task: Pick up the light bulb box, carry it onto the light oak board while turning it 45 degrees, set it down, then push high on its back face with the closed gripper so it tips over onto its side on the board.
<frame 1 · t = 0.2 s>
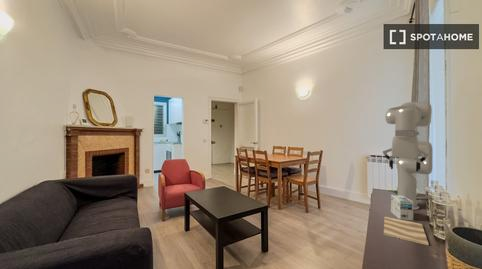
hand: (404, 169, 101), 31 cm above the table, tool pointing down, fingers open, 9 cm apart
oak board: (403, 230, 104), on the table
figurine: (397, 198, 151), on the table
light bulb box: (401, 216, 121), on the table
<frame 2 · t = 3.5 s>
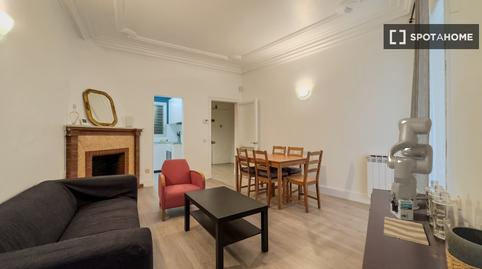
hand: (401, 210, 121), 3 cm above the table, tool pointing down, fingers closed on light bulb box, 8 cm apart
light bulb box: (401, 216, 121), on the table, touching gripper
everything else where it was.
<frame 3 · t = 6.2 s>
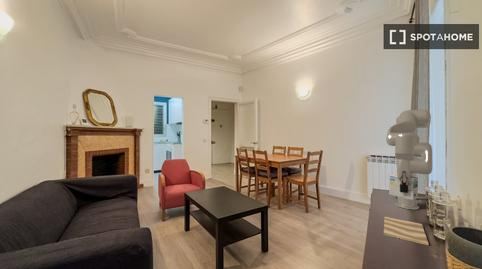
hand: (403, 190, 109), 18 cm above the table, tool pointing down, fingers closed on light bulb box, 8 cm apart
light bulb box: (402, 196, 109), point 15 cm above the table, touching gripper
everything else where it was.
when the fingers open (5 cm above the table, at t = 9.4 s): light bulb box stays where it is, resting on oak board.
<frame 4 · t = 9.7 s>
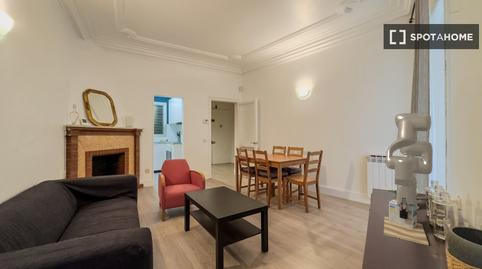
hand: (402, 215, 109), 6 cm above the table, tool pointing down, fingers open, 9 cm apart
light bulb box: (402, 223, 110), point 1 cm above the table, touching oak board
everything else where it was.
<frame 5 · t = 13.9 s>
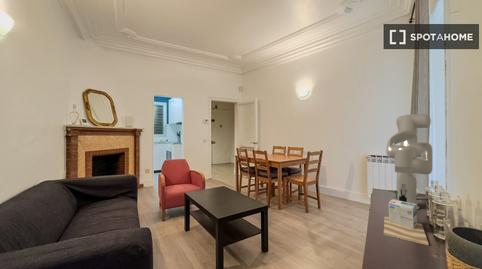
hand: (402, 203, 113), 10 cm above the table, tool pointing down, fingers closed
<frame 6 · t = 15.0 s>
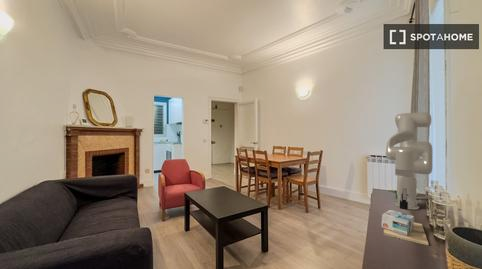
hand: (403, 208, 107), 10 cm above the table, tool pointing down, fingers closed
light bulb box: (401, 218, 108), point 4 cm above the table, touching oak board
everything else where it was.
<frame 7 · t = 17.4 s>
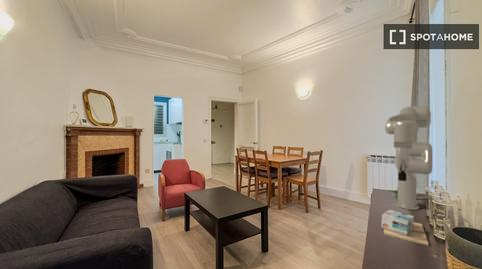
hand: (402, 180, 109), 24 cm above the table, tool pointing down, fingers closed
nothing on the table moved.
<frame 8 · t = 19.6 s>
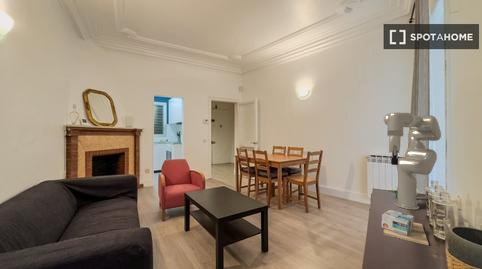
hand: (394, 164, 124), 29 cm above the table, tool pointing down, fingers closed
nothing on the table moved.
at the end: light bulb box tilted 89°; light bulb box inside the target area on the oak board (4.1 cm from its centre), point 4.2 cm above the oak board's base; light bulb box touching oak board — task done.
